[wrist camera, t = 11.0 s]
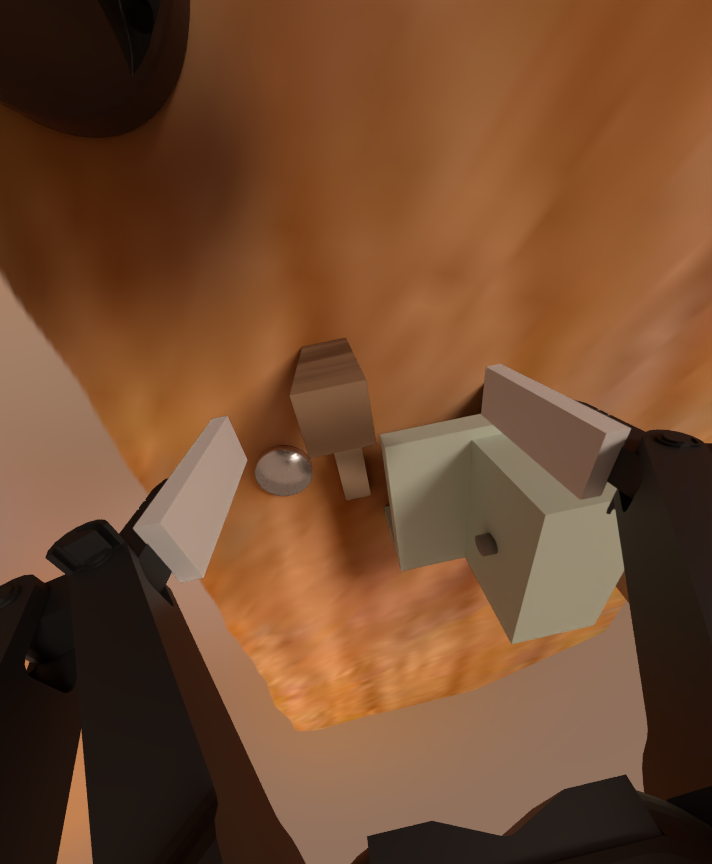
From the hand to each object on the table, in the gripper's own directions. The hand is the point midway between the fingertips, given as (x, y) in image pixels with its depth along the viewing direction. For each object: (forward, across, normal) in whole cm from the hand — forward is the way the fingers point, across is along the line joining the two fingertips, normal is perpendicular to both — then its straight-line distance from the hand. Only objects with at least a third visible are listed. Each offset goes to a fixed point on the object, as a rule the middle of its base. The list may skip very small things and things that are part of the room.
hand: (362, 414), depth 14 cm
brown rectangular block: (+13, -1, -8) cm, 15 cm away
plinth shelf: (+12, +9, -14) cm, 20 cm away
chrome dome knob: (+13, -9, -11) cm, 19 cm away
